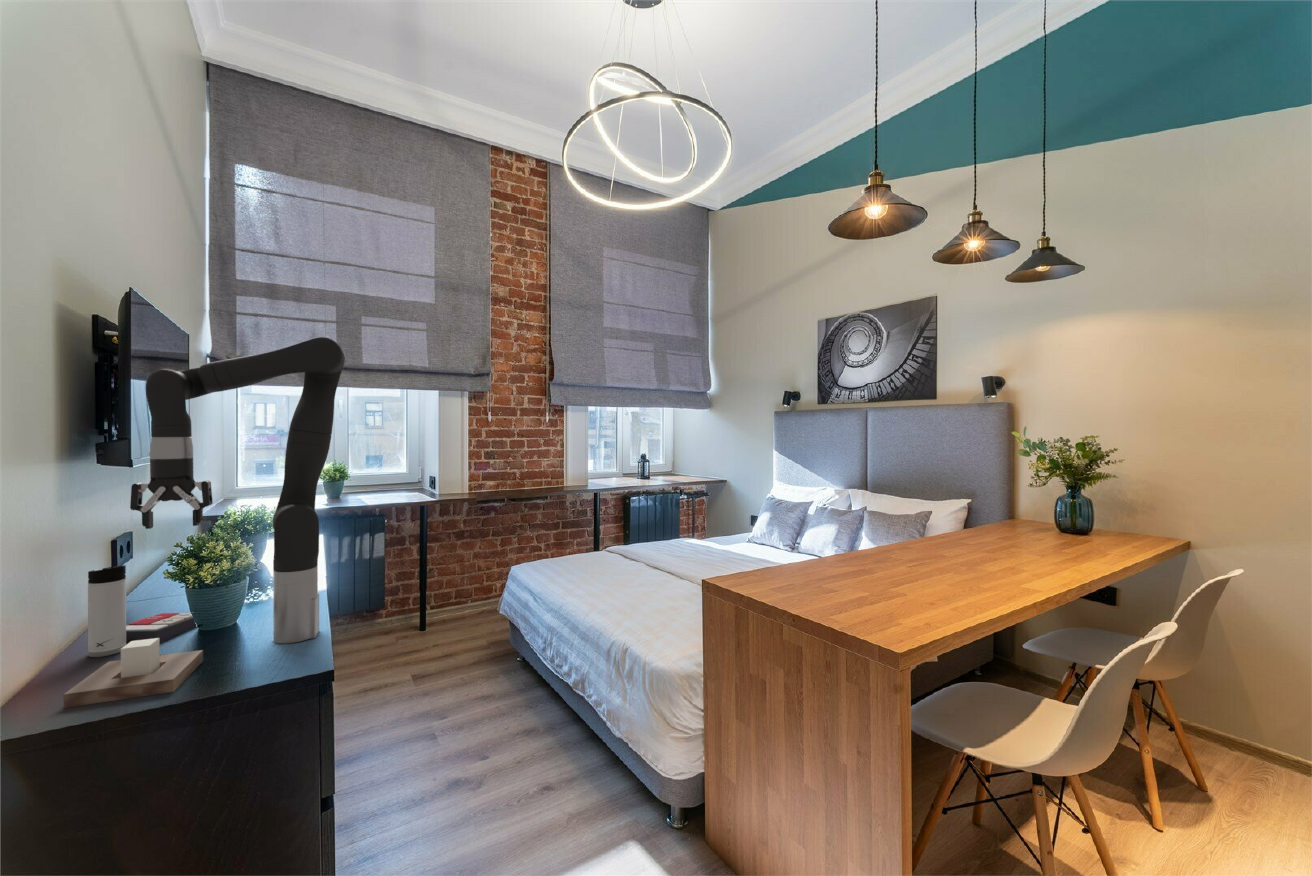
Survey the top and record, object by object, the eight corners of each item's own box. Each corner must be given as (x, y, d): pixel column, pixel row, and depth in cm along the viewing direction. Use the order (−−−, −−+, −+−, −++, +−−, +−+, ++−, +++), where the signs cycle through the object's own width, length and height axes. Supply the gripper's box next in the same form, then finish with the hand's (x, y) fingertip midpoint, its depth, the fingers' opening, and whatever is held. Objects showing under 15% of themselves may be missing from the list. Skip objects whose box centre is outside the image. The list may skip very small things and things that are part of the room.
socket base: (203, 661, 122) (203, 649, 122) (173, 691, 108) (173, 679, 108) (108, 673, 116) (108, 661, 116) (63, 707, 101) (63, 694, 101)
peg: (159, 676, 115) (159, 637, 115) (150, 685, 111) (149, 645, 111) (131, 679, 113) (131, 640, 113) (120, 689, 109) (120, 648, 109)
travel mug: (103, 658, 124) (102, 569, 124) (80, 656, 125) (80, 568, 125) (134, 648, 130) (134, 563, 130) (112, 646, 131) (112, 562, 131)
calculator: (204, 611, 147) (156, 627, 132) (203, 627, 147) (155, 646, 132) (161, 611, 146) (108, 628, 131) (160, 628, 146) (107, 647, 131)
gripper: (215, 455, 134) (216, 522, 134) (139, 457, 128) (140, 526, 128) (205, 456, 127) (206, 527, 127) (124, 458, 121) (125, 532, 121)
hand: (173, 526), depth 127 cm, fingers open, 8 cm apart
